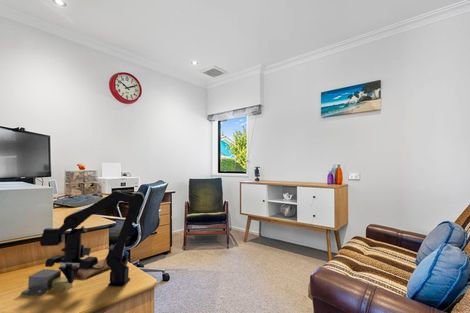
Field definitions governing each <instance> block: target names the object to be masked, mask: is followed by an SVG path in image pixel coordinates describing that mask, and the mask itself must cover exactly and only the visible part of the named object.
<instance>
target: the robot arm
mask: <svg viewBox="0 0 470 313" xmlns="http://www.w3.org/2000/svg"><path fill="white" fill-rule="evenodd" d="M116 201H118V202H122V203H126V204H128V208H127V214H126V216H125V218H124V221H123V224H122V227H121V229H120V232H119V234H118V238H117V240H116V243H115V244H114V245H113V244H111V245H110V247H109V249H108V252H107V255H106V256H105V258H104V259H107V261H106V264H107V265H108V266H109V267H110V268H111V269H110V272H109V283H108V284H107V286H109V287H111V286H112V287H124V286H125V285H126V284H127V283H128V282H129V281H130V280H131V277H129V275H130V274H129V273H130V272H129V271H130V270H129V269H130V267H129V266H128V263H129V257H127V256H126V255H125V248H126V242H127V240H128V238H129V234H130V232H131V230H132V227H133V223H134V221H135V218H136V216H137V214H138V212H139V210H140V209H141V207H142V205H143V203H144V202H145V195H144V193H143V192H141V191H135V192H131V191H124V190H119V189H117V190H114V191H112V193H110V194H107V196H105V197H103V198H102V199H100V200H97V201H96V202H94V203H93V204H91V205H89V206H87V207H85V208H82V209H79V210H77V211H74V212H71V213H70V214H69V215H67V216H66V217H65V218H63V219H64V220H63V224H62V225H61V226H60V227H58V228H52V227H51V228H50V227H47V228H44V229H43V231H42V232H43V233H42V234H41V237H40V240H39V244H40V247H54V246H55V247H56V246H60V245H61V243H63V244H64V246H63V248H61V252H63V254H55V255H53V256H50V257H49V258H47V259H46V260H45V264H44V265H45V266H44V267H46V268H52V267H54V266H55V264H60V265H59V267H58V269H57V270H61V274H63V276H64V277H66V279H67V280H68V282H69V283H74V280H75V279H76V278H75V276H76V274H77V272H78V270H79V268H81V269H90V268H91V267H93V266H94V265H96V264H97V263H98V261H99V258H98V257H97V256H90V253H91V250H92V247H85V246H84V244H83V243H82V235H83V234H86V232H88V229H87V228H86V227H85V226H84V225H82V226H81V227H79V226H80V225H81V224H83V223H84V222H85V221H86V220H87V219H88V218H90V217H91V216H93V215H94V214H96V213H97V212H100V211H102V210H103V209H104V208H106V207H108V206H109V205H112V204H113V203H114V202H116ZM78 227H79V228H78ZM85 256H87V257H85Z"/></svg>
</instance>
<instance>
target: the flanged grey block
mask: <svg viewBox="0 0 470 313" xmlns="http://www.w3.org/2000/svg"><path fill="white" fill-rule="evenodd" d="M61 274H62V271H61V270H60V269H45V268H44V269H43V268H42V269H41V270H39V271H37V272H35V273H33V274H31V275H29V276H28V285H27V288H26V289H25V290H23V291H21V292H20V293H21V295H26V296H42V295H44V294H46V293H47V292H49V285H52V281H53V280H55V279H56V278H58V277H62V276H61Z"/></svg>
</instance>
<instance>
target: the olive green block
mask: <svg viewBox="0 0 470 313" xmlns="http://www.w3.org/2000/svg"><path fill="white" fill-rule="evenodd" d="M73 283H74V282H73ZM73 283H69V282H68V280H67V279H66V277H65V276H63V277H62V276H61V277H58V278H56V279H55V280H53V281H52V284H51V291H60V292H61V291H62V292H66V291H68V290H69V289H70V288H72V287H73Z"/></svg>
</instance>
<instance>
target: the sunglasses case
mask: <svg viewBox="0 0 470 313" xmlns="http://www.w3.org/2000/svg"><path fill="white" fill-rule="evenodd" d="M106 261H107V259H105V258H103V259H100V260H98V263H97V264H96V265H94V266H93V267H91V268H90V269H81V268H79V270H78V272H77V274H76V276H75V279H78V280H81V281H86V280H88V279H90V278H93V277H95V276H98V275H99V274H102V273H104V272H107V271H109V269H110V270H111V268H110V267H109V266H108V265H107V264H106Z"/></svg>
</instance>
